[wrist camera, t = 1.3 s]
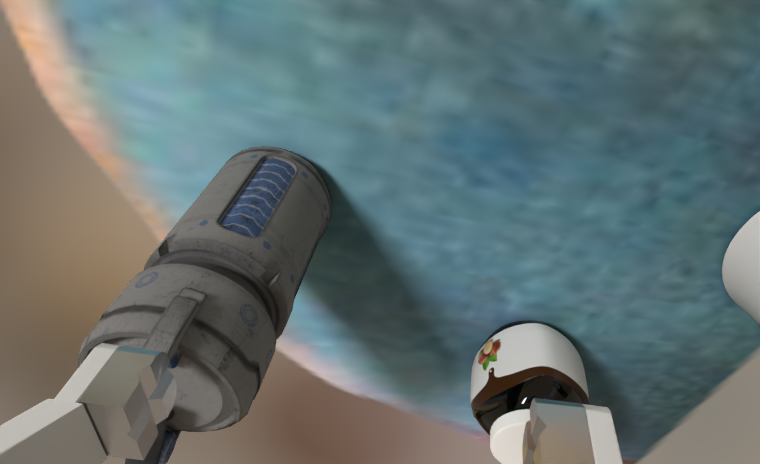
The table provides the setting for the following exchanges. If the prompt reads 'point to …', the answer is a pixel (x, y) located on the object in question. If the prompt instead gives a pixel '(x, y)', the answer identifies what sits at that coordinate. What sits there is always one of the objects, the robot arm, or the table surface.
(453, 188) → the table surface
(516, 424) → the spread jar
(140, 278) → the beverage bottle
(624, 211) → the table surface
